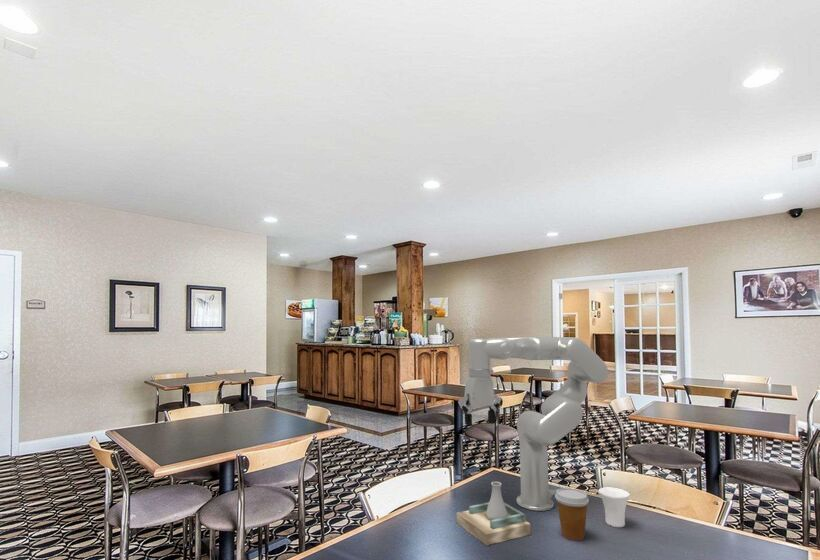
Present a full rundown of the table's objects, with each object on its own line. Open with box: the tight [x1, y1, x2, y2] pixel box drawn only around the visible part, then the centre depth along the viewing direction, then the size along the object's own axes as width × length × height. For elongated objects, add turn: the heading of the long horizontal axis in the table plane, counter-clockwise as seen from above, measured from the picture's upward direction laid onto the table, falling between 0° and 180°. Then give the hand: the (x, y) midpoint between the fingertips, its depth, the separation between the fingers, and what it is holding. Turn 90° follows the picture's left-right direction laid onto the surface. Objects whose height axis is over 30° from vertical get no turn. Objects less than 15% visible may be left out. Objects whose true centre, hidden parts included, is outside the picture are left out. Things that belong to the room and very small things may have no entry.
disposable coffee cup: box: [554, 487, 590, 541], centre depth 128 cm, size 10×10×12 cm
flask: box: [485, 481, 508, 520], centre depth 134 cm, size 7×7×10 cm
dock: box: [456, 501, 531, 546], centre depth 132 cm, size 16×16×5 cm
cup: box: [597, 486, 631, 528], centre depth 136 cm, size 9×9×10 cm
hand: (480, 423), depth 149 cm, fingers open, 9 cm apart
